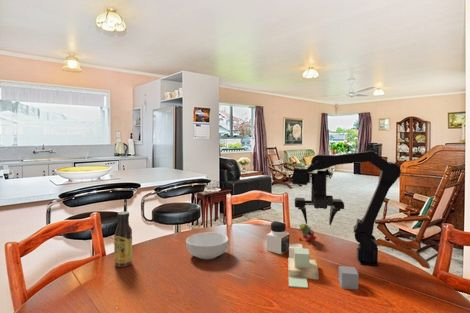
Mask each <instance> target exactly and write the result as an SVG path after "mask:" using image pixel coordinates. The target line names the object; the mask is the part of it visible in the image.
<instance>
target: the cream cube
mask: <svg viewBox="0 0 470 313" xmlns="http://www.w3.org/2000/svg"><path fill="white" fill-rule="evenodd" d="M294 248H303V244H302V243H290V242H289V250H288V258H294Z"/></svg>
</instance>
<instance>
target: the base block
mask: <svg viewBox="0 0 470 313" xmlns="http://www.w3.org/2000/svg"><path fill="white" fill-rule="evenodd" d="M287 260H288V261H287V268H288V269H287V270H288V271H287V274H288V276H287V277H300V278H307V280H308V279H309V280H317V281H318V280H319V276H320V274H319V268H318V264H317V260H316V259H311V258H310V261H309V268H296V267H295V265H294V258H289V257H288V258H287Z"/></svg>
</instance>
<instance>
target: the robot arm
mask: <svg viewBox="0 0 470 313" xmlns="http://www.w3.org/2000/svg"><path fill="white" fill-rule="evenodd" d="M310 162H311V163H310V165H309V166H307V168H299V167H295V168H293V172H292V177H291V182H292V185H293V186H294V185H297V186H308V184H310V183H311V195H310V196H311V198H310V199H311V200H306V199H305V197H295V198H294V208H298V210H299V211H301V213H302V216H303V218H304V222H305V224H306V225H308V216H307V207H306V206H313V208H314V209H317V210H318V209H323V210H325V209H326V210H327V209H328V207H329V209H330V211H329V218H328V220H329V222H328V223H329V224H328V225H329V226H332V223H333V220H334V219H335V215H336V214H337V213H338V212H340V211H341V210H345V202H344V201H343V200H342V199H341V198H338V199H337V198H334V197H333V195H328V194H327V176H329V177H330V176H332V174H333V173H332V172H331V171H330V170H329V169H328V168H332V167H333V166H339V165H347V164H349V165H350V164H357V163H366V162H368V163H371V164H372V165H373V166H375V167H376V168H377V169H379V170H380V172H379V177H378V183H377V185H376V188H375V191H374V193H373V195H372V197H371V199H370V201H369V204H368V206H367V209H366V211H365V214H364V215H363V217H362V218H361V219H360V218H357V219H356V222H355V223H356V224H355V225H354V226H353V233H354V239H355V241H356V242H357V243H358V247H356V259H357V261H358V262H359V264H360V265H365V266H376V267H377V266H379V265H380V263H379V262H378V257H379V256H378V254H379V247H378V244H377V243H378V242H377V238H376V237H375V236H374V235H373V233H374V227H375V223H376V220H377V217H378V215H379V213H380V210H381V208H382V206H383V203H384V202H385V199H386V197H387V194H388V192H389V191H390V189H391V187H392V186H393V185H394V184H395V183H396V182H397V180H398V178H399V177H400V175H401V174H402V173H401V172H402V170H401V168H400V166H399V165H398V164H397V163H395V162H393V161H387V160H385V159H384V158H382V157H381V156H380V155H378V154H377V153H376V152H375V151H373V150H367V151H360V152H359V151H358V152H352V153H351V152H350V153H343V154H334V155H333V154H323V153H321V154H316V155H314V156H313V157H312V158H311V161H310ZM324 169H325V170H324ZM316 170H317V172H314V171H316Z"/></svg>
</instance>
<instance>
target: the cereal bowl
mask: <svg viewBox="0 0 470 313" xmlns="http://www.w3.org/2000/svg"><path fill="white" fill-rule="evenodd" d="M185 245H186V250H187V251H188V252H189V253H190V255H192V256H194V257H196V258H198V259H201V260H206V261H207V260H213V259H215V258H217V257H218V256H222V254H224V253H225V252H227V249H228V246H229V236H227V235H226V234H224V233H221V232H210V231H208V232H207V231H206V232H198V233H195V234H191V235H190V236H188V237H187V238H186V240H185Z"/></svg>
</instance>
